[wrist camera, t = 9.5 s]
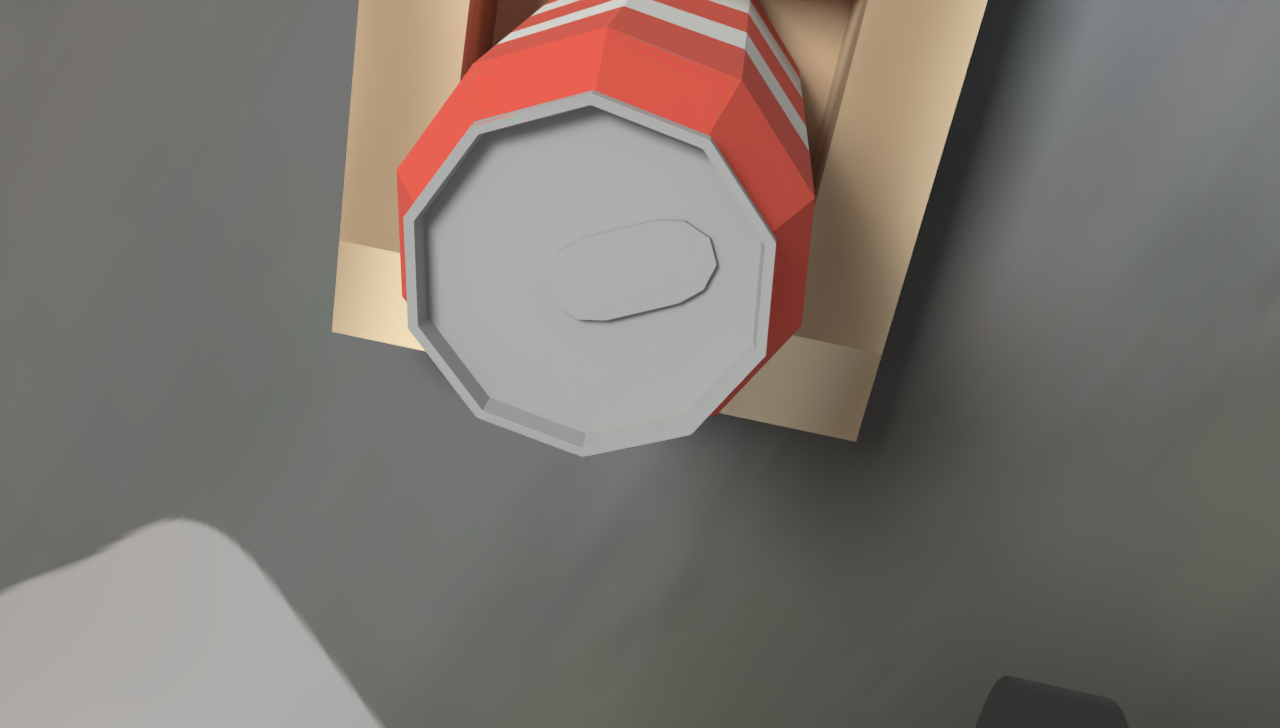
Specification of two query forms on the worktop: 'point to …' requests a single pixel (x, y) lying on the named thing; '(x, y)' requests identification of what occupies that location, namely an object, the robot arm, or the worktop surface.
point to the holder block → (839, 154)
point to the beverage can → (611, 220)
